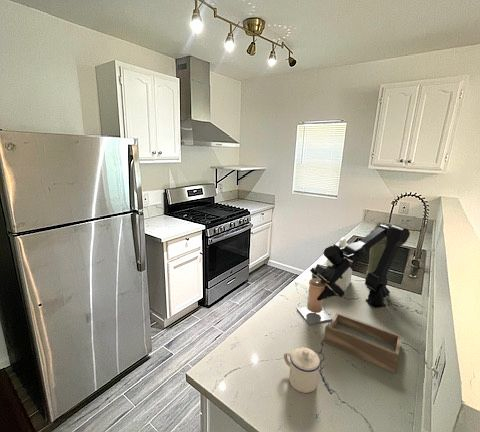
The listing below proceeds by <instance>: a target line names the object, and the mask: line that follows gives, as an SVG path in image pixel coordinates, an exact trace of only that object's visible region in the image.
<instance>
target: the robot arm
mask: <svg viewBox="0 0 480 432" xmlns="http://www.w3.org/2000/svg"><path fill="white" fill-rule="evenodd" d="M373 230H374V229H373ZM370 232H371V231H370ZM370 232H369V234H367V235H366V236H365V237H363V238H362V239H360V240H358V241H356V242H351V243H348V245H347V246H346V247H344V248H339V247H338V246H337V245H338V244H333V245H330V246H328V247H326V248H324V250H323V255H324V257H325V258H326V259H327V260H329V261H330V262H331V263H332V264H333V265H332V266H330V265H329V266H327V265H326V266H327V267H326V266H324V265H321V264H319V263H317V265H316V266H315V267H314V266H313V267H312V268H311V269H310V273H311V276H312V275H313V279H315V278H316V279H321V280H323V281H324V282H325V283H326V284H328V285H329V287H328V286H326V285H325V290H324V291H323V292H322V293H321V294H320V295H319V297H318V298H317V300H318V301H319V300H322V299H323V300H324V299H328V298H331V297H337V296H338V297H340V298H341V299H342V298H343V297H344V296H345V293H346V291H345V290H342V289H341V288H340V287H339V286H338V285H337V284H336V283H335V282H336V281H337V280H338V279H339V278H340V279H342V278H343V277H342V275H343V274H344V273H345V272H346V270H347V269H348V268H349V267H350V268H351V269H352V270H354V263H358V262H360V261H361V260H362V259H363V258H364V257H365V256H366V253H367V251H369V250H370V248H371V247H372V246H374V245H375V244H376V243H378V242H379V241H380V240H382V239H383V238H384V237H387V245H386V247H385V249H384V251H383V254H382V256H381V258H380V260H379V263H378V265H377V267H376V269H375V271H373V272H372V273H370V272H369V273H368V275H367V278H366V281H365V282H364V284H365V283H366V285H367V286H366V285H365V286H366V288H367V289H368V290H369V293H368V296H367V299H365V301H366V302H367V303H368V304H370V305H371V306H372V307H373V308H375V309H376V308H382V307H387V304H386V303H384V301H385V298H387V297H388V296H389V295H390V294H391V291H390V290H389V289H388V288H387V285H388V278H387V275H388V273H389V271H390V267H391V266H392V263H393V261H394V260H395V257H396V255H397V254H398V253H397V252H398V250H399V248H400V247H401V246H403V245H404V244H406V242H407V241H408V240H409V238H410V235H411V233H410V230H409V228H407V227H403V226H399V225H397V224H393V225H390V226H388V225H383V224H382V225H379V226H378V228H377V229H375V230H374V231H373V232H371V233H370ZM344 257H346V258H347V259H346V258H344ZM348 259H349V260H352V261H353V262H351V261H349V260H348ZM312 273H313V274H312ZM328 281H329V282H328ZM308 292H309V289H308Z"/></svg>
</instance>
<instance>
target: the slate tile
mask: <svg viewBox="0 0 480 432" xmlns="http://www.w3.org/2000/svg"><path fill="white" fill-rule="evenodd" d="M296 310H297V312H298V313H299V314H300V316H302V318H303V319H304V320H305V322H306V323H308V326H309V325H310V326H311V325H315V324H321V323H324V322H325V323H326V322H332V320H333V318H332V317H331V316H330V315H329V314H328V313H327V312H326V311H325V310H324V309H323V308H322V311H321V312H320V313H313V312H311V311H309V310H308V308H307V305H306V306H301V307H297V308H296Z"/></svg>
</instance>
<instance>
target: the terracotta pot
mask: <svg viewBox="0 0 480 432" xmlns="http://www.w3.org/2000/svg"><path fill="white" fill-rule="evenodd" d="M308 281H309V282H308V285H309V287H308V290H309V291H308V296H307V297H308V298H307V305H306V306H307V308H308V310H309V311H311V312H313V313H320V312H321V311H322V309H323V306H324V305H323V304H324V299H322V300H319V301H318V300H317V298H318V297H319V295H320V294H321V293H322V292H323V291H324V290H325V285H326V283H325V282H324V281H323V280H321V279H316V278H315V279H312V278H310V279H309V280H308Z"/></svg>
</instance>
